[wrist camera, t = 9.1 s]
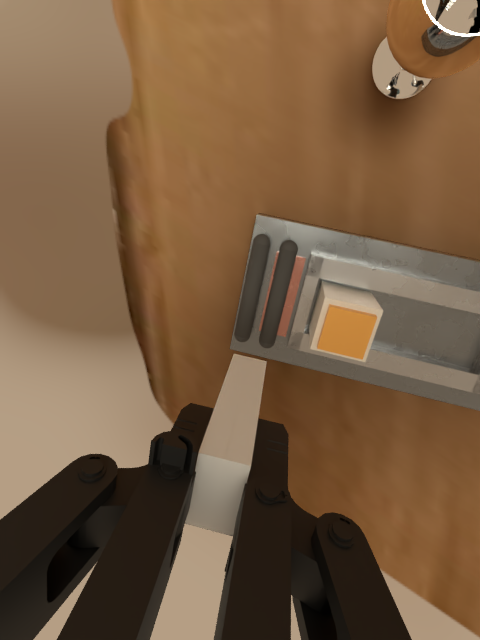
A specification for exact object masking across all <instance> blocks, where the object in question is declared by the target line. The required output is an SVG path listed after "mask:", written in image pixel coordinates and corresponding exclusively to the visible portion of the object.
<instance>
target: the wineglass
mask: <svg viewBox="0 0 480 640" xmlns="http://www.w3.org/2000/svg"><path fill="white" fill-rule="evenodd" d="M386 34H387V36H386V37H385V38H384V39H383V40H382V42H381V43H380V44H379V46H378V48H377V50H376V52H375V55H374V58H373V63H372V76H373V80H374V83H375V85H376V87H377V89H378V90H379V91H380V92H381V93H382V94H383V95H385V96H387V97H389V98H392V99H398V100H401V99H407V98H410V97H413V96H415V95H417V94H418V93H420V92H421V91H422V90H424V89H425V88H426V87H427V85H428V84H429V83H430V82H431V80H432V79H433V78H442V77H446V76H450V75H453V74H455V73H458V72H460V71H462V70H464V69H466V68H468V67H470V66H471V65H473V64H474V63H476V62H477V61H478V60H480V0H390V2H389V6H388V12H387V20H386Z"/></svg>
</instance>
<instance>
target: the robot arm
mask: <svg viewBox="0 0 480 640" xmlns="http://www.w3.org/2000/svg"><path fill="white" fill-rule="evenodd" d="M266 363H267V361H263V360H259V359H255V358H250V357H246V356H242V355H238V354H234V355H233V357H232V360H231V363H230V366H229V369H228V371H227V374H226V377H225V380H224V382H223V385H222V388H221V391H220V394H219V396H218V399H217V402H216V405H215V408H209V407H205V406H201V405H197V404H193V403H190V404H189V405H187V406H186V407H184V408H183V409H182V410H181V412H180V414H179V416H178V418H177V420H176V422H175V424H174V426H173V428H172V429H171V431H168V432H163V433H161V434H159V435H157V436H155V438H154V439H153V440H152V441H151V447H150V455H149V463H148V464H147V465H145V466H141V467H137V468H118V467H117V465H116V462H115V461H114V460H113V459H112V458H110V457H109V456H106V455H102V454H89V455H86V456H82V457H80V458H78V459H76V460H75V461H73V462H72V463H70V464H69V465H68V466H67V467H65V468H64V469H63V470H62V471H61V472H59V473H58V474H57V475H55V476H54V477H53V478H52V479H50V481H48V482H47V483H46V484H44V485H43V486H42V487H41V488H39V489H38V490H37V491H36V492H34V493H33V494H32V495H31V496H29V497H28V498H27V499H26V500H24V501H23V502H22V503H21V504H20V505H18V506H17V507H16V508H14V509H13V510H12V511H11V512H9V513H8V514H7V515H6V516H4V517H3V518H2V519H1V520H0V640H33V639H34V638H35V637H36V635H37V634H38V633H39V632H40V631H41V629H42V628H43V627H44V626H45V624H46V623H47V622H48V621H49V620H50V618H51V617H52V616H53V615H54V614H55V612H56V611H57V610H58V609H59V607H60V606H61V605H62V604H63V603H64V601H65V600H66V599H67V598H68V596H69V595H70V594H71V593H72V592H73V590H74V589H75V588H76V587H77V585H78V584H79V583H80V582H81V581H82V579H83V578H84V577H85V576H86V574H87V573H88V572H89V571H90V570H91V569H92V567H93V566H94V565H95V564H96V562H97V561H98V562H97V564H96V565H95V567H94V570H93V571H92V573H91V575H90V577H89V579H88V581H87V583H86V585H85V587H84V589H83V591H82V592H81V594H80V596H79V598H78V600H77V602H76V604H75V606H74V608H73V610H72V611H71V613H70V616H69V617H68V619H67V621H66V623H65V625H64V627H63V629H62V631H61V633H60V635H59V636H58V638H57V640H150V637H151V634H152V631H153V628H154V624H155V621H156V618H157V615H158V612H159V609H160V605H161V602H162V599H163V596H164V593H165V589H166V586H167V583H168V580H169V577H170V573H171V570H172V567H173V564H174V561H175V558H176V555H177V551H178V548H179V545H180V541H181V537H182V531H183V527H184V524H185V523H186V524H189V525H193V526H196V527H200V528H204V529H207V530H211V531H215V532H219V533H223V534H226V535H230V536H233V540H232V544H231V548H230V552H229V556H228V560H227V564H226V567H225V572H226V574H225V579H224V585H223V590H222V596H221V602H220V607H219V613H218V619H217V624H216V630H215V636H214V640H291V638H290V637H291V595H292V596H293V603H294V608H295V612H296V617H297V622H298V627H299V631H300V636H301V640H412V639H411V637H410V635H409V633H408V630H407V628H406V626H405V624H404V622H403V619H402V617H401V615H400V613H399V610H398V608H397V606H396V604H395V602H394V599H393V597H392V595H391V593H390V590H389V588H388V586H387V584H386V582H385V579H384V577H383V575H382V573H381V570H380V568H379V566H378V564H377V562H376V559H375V557H374V555H373V553H372V550H371V548H370V546H369V544H368V542H367V539H366V537H365V535H364V533H363V532H362V530H361V529H360V527H359V526H358V525H357V524H356V523H355V522H353V521H352V520H351V519H349V518H348V517H346V516H344V515H342V514H337V513H325V514H323V515H322V516H321V517H319V519H318V518H317V517H315V516H313V515H311V514H309V513H308V512H306V511H304V510H303V509H302V508H300V507H299V506H298V505H297V504H296V503H295V502H294V501H293V499H292V498H291V496H290V492H289V491H288V433H287V431H286V429H285V427H284V425H283V424H279V423H275V422H271V421H267V420H263V419H259V418H258V416H259V410H260V403H261V396H262V390H263V383H264V376H265V370H266ZM185 521H186V522H185Z"/></svg>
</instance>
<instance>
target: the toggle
mask: <svg viewBox="0 0 480 640" xmlns="http://www.w3.org/2000/svg"><path fill="white" fill-rule="evenodd" d="M382 313H383V309H382V308H381V306H380V305H379V303H378V302H377V300H376V299H375V297H374V296H373V294H372V293H371V292H370V291H365V290H361V289H356V288H352V287H348V286H343V285H339V284H334V283H330V282H325V281H321V285H320V288H319V292H318V295H317V299H316V303H315V306H314V310H313V313H312V317H311V320H310V324H309V334H310V349H312V350H316V351H321V352H325V353H329V354H333V355H337V356H341V357H345V358H349V359H354V360H358V361H362V362H365V361H366V359H367V356H368V353H369V350H370V347H371V345H372V342H373V339H374V336H375V333H376V330H377V328H378V325H379V322H380V319H381V316H382Z"/></svg>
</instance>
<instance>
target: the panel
mask: <svg viewBox="0 0 480 640" xmlns="http://www.w3.org/2000/svg"><path fill="white" fill-rule="evenodd" d="M259 234H265V235H267V236H268V237H269V239H270V248H269V253H268V257H267V262H266V267H265V271H264V276H263V280H262V285H261V289H260V294H259V298H258V303H257V307H256V312H255V317H254V321H253V326H252V330H251V335H250V338H249V339H248V340H247V341H246V342H239V341H237V340H236V338H235V336H234V332H235V328H236V323H237V318H238V313H239V308H240V303H241V298H242V293H243V288H244V283H245V278H246V273H247V268H248V263H249V258H250V253H251V248H252V244H253V240H254V238H255V237H256V236H257V235H259ZM286 240H292V241H294V242H295V243H296V244H297V246H298V251H297V255H296V260H295V264H294V268H293V272H292V276H291V280H290V284H289V288H288V292H287V296H286V300H285V304H284V308H283V312H282V316H281V320H280V324H279V328H278V332H277V336H276V340H275V343H274V345H273V346H272V347H271V348H263V347H262V346H261V345H260V343H259V337H260V332H261V328H262V324H263V319H264V315H265V311H266V306H267V302H268V298H269V293H270V289H271V285H272V280H273V276H274V272H275V267H276V263H277V259H278V254H279V250H280V246H281V244H282V243H283V242H284V241H286ZM321 281H325V282H330V283H334V284H339V285H343V286H348V287H352V288H356V289H361V290H365V291H370V292H371V293H372V294H373V296H374V297H375V299H376V300H377V302H378V303H379V305H380V306H381V308H382V309H383V313H382V316H381V319H380V322H379V325H378V328H377V330H376V333H375V336H374V339H373V342H372V345H371V347H370V350H369V353H368V356H367V359H366V361H365V362H362V361H358V360H354V359H349V358H345V357H341V356H337V355H333V354H329V353H325V352H321V351H316V350H312V349H310V334H309V324H310V320H311V317H312V313H313V310H314V306H315V303H316V299H317V295H318V292H319V288H320V285H321ZM230 349H232V350H236V351H240V352H244V353H248V354H252V355H256V356H260V357H264V358H268V359H272V360H276V361H280V362H284V363H288V364H292V365H296V366H301V367H305V368H309V369H313V370H317V371H321V372H325V373H329V374H333V375H337V376H341V377H345V378H349V379H353V380H357V381H361V382H365V383H369V384H373V385H377V386H381V387H385V388H390V389H394V390H398V391H402V392H406V393H410V394H414V395H418V396H422V397H426V398H430V399H434V400H438V401H442V402H446V403H450V404H454V405H458V406H462V407H466V408H470V409H474V410H478V411H480V260H477V259H473V258H468V257H463V256H459V255H454V254H449V253H445V252H440V251H435V250H431V249H426V248H421V247H416V246H412V245H407V244H402V243H398V242H393V241H388V240H384V239H379V238H374V237H370V236H365V235H360V234H355V233H351V232H346V231H341V230H337V229H332V228H327V227H323V226H318V225H313V224H309V223H304V222H299V221H294V220H290V219H285V218H280V217H276V216H271V215H266V214H262V213H259V214H257V216H256V221H255V226H254V231H253V236H252V241H251V246H250V251H249V256H248V261H247V266H246V271H245V275H244V280H243V285H242V290H241V295H240V300H239V305H238V310H237V315H236V320H235V325H234V330H233V335H232V340H231V345H230Z"/></svg>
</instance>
